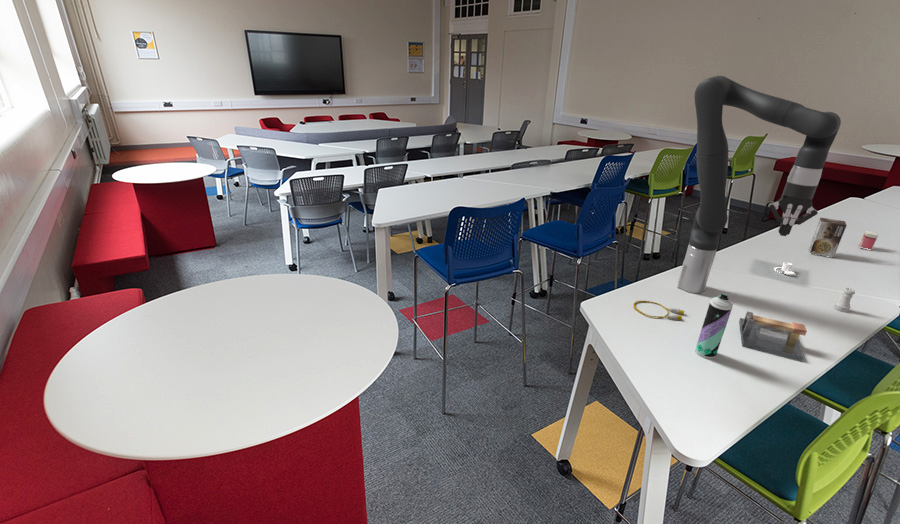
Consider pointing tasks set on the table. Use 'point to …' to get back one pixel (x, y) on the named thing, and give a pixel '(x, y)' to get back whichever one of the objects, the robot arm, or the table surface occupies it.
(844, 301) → the rook chess piece
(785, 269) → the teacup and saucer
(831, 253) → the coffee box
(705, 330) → the spray can
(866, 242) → the small box
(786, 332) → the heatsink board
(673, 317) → the extension cord
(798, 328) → the lever
